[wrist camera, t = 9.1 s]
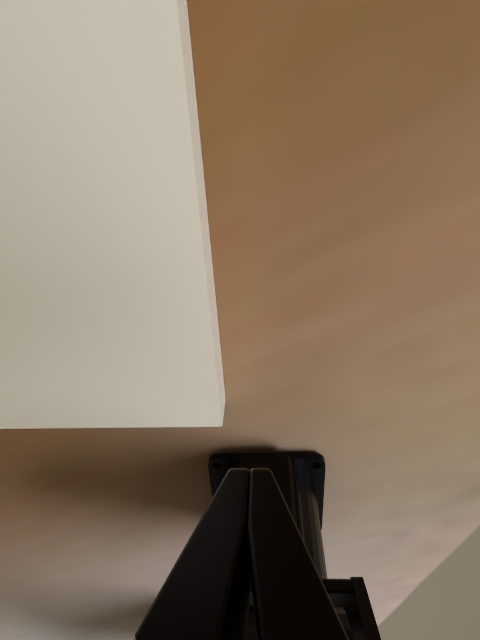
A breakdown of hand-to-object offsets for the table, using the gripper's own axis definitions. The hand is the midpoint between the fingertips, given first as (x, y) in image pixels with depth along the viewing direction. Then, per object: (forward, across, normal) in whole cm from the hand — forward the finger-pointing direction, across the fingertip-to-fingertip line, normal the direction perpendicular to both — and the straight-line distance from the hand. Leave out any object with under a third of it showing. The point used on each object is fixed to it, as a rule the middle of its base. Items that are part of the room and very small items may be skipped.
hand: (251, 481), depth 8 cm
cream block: (+11, +8, -2) cm, 14 cm away
